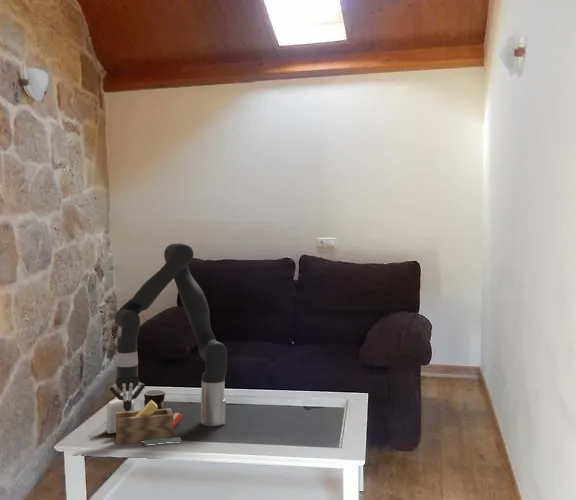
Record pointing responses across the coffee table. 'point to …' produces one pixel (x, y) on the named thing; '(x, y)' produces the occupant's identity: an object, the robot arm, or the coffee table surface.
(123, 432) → the pocket block
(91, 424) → the coffee table surface
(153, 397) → the coffee mug
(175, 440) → the grey-green flat bar
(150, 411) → the slat
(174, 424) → the candy bar
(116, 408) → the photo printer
